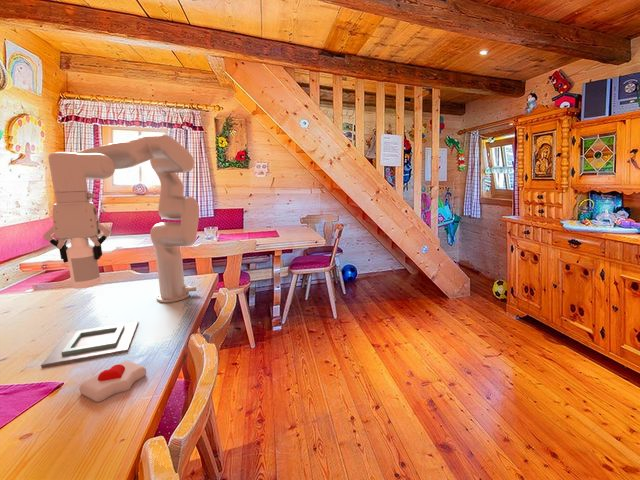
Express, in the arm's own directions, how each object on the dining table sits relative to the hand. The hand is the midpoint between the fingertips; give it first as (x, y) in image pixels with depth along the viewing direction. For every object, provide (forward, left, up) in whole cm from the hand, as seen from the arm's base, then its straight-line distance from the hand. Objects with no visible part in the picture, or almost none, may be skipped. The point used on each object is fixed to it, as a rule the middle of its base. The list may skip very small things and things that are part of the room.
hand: (82, 259), depth 92 cm
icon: (-10, +26, -27) cm, 39 cm away
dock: (0, 0, -26) cm, 26 cm away
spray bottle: (0, 0, -8) cm, 8 cm away
